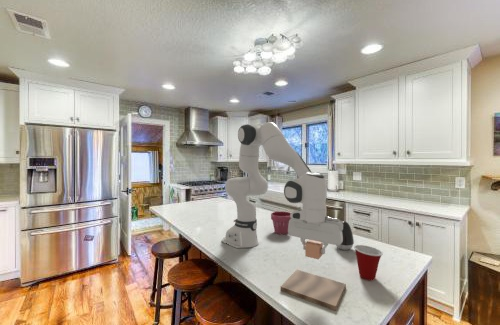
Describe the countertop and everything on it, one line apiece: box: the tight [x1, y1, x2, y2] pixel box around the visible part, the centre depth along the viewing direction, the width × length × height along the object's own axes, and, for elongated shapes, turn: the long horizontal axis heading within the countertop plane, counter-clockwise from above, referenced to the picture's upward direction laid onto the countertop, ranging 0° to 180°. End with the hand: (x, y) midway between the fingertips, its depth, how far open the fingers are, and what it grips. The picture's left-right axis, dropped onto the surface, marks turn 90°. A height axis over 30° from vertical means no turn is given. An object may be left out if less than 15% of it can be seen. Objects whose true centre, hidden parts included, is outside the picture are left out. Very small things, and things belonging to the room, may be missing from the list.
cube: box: [304, 239, 324, 260], centre depth 86 cm, size 5×5×5 cm
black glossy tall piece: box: [335, 220, 355, 251], centre depth 126 cm, size 10×10×15 cm
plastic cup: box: [353, 244, 384, 281], centre depth 95 cm, size 11×11×12 cm
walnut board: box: [280, 269, 347, 312], centre depth 86 cm, size 20×16×2 cm
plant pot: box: [270, 210, 292, 235], centre depth 153 cm, size 14×14×13 cm
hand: (313, 251), depth 86 cm, fingers closed on cube, 5 cm apart
